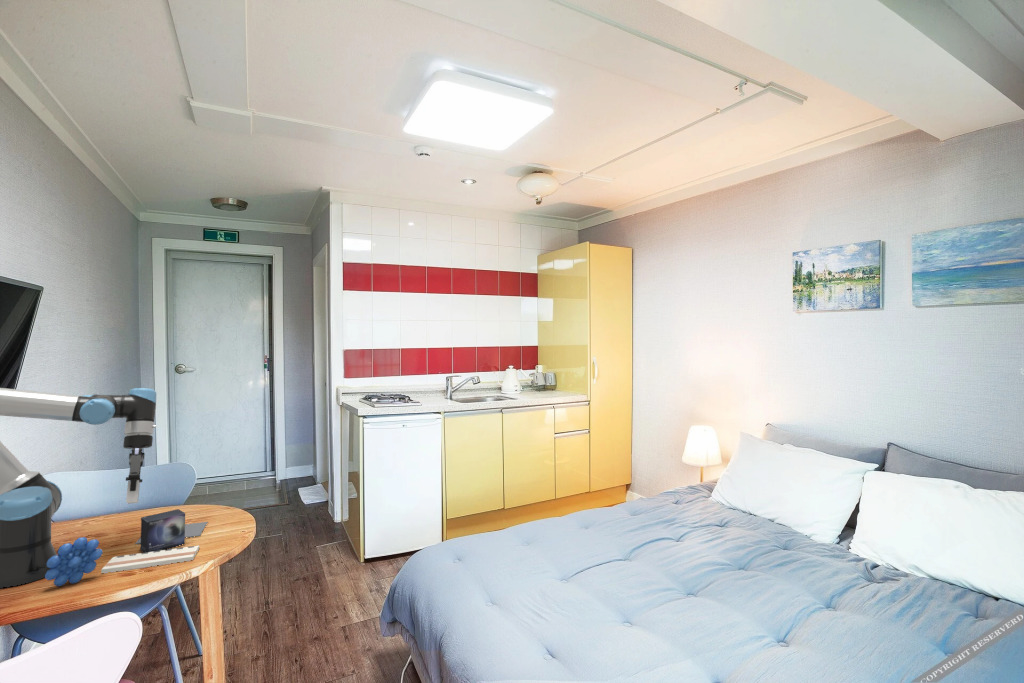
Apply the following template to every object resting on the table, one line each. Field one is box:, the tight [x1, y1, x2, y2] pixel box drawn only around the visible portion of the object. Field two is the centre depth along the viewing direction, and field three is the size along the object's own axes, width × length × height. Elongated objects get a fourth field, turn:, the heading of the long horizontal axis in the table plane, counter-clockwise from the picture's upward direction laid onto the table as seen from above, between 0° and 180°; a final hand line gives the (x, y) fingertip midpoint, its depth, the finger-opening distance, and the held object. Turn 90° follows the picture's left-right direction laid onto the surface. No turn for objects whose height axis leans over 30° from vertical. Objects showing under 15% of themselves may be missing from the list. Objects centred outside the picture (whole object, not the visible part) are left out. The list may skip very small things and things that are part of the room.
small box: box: [139, 508, 186, 553], centre depth 155 cm, size 11×6×10 cm, turn 143°
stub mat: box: [134, 521, 209, 545], centre depth 167 cm, size 18×14×1 cm
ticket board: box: [100, 545, 200, 574], centre depth 145 cm, size 22×9×1 cm, turn 113°
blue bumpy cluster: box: [44, 536, 104, 587], centre depth 132 cm, size 12×7×12 cm, turn 137°
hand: (132, 503), depth 154 cm, fingers open, 13 cm apart
